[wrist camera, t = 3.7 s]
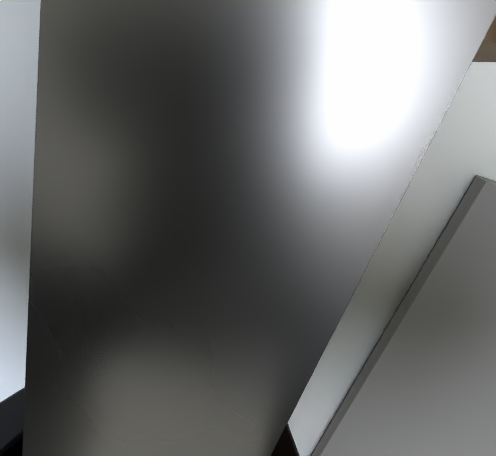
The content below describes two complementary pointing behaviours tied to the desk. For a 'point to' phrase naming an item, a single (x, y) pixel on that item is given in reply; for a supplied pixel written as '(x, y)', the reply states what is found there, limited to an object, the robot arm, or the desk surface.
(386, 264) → the desk surface
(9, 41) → the desk surface
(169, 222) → the rail
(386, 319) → the desk surface
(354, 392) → the mat
